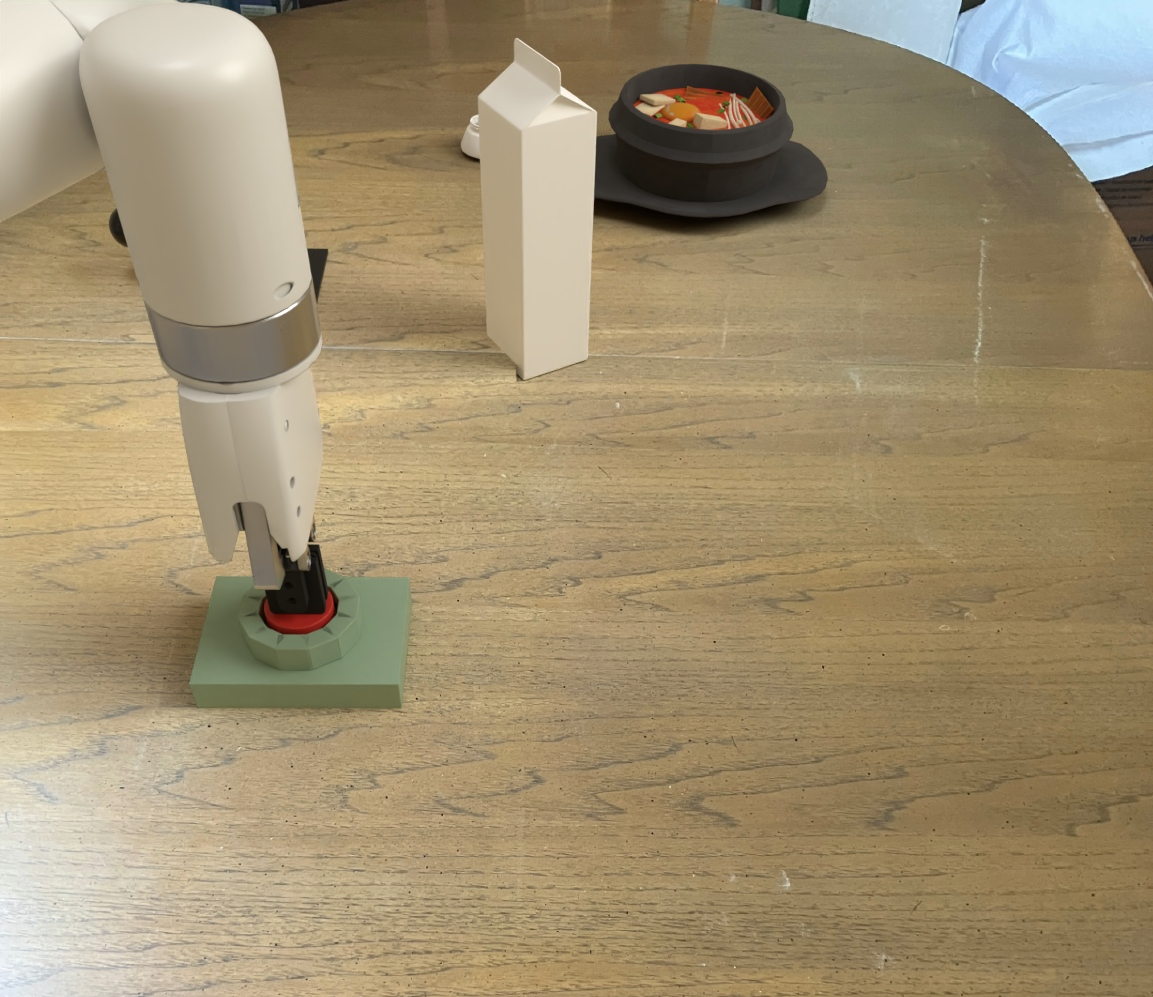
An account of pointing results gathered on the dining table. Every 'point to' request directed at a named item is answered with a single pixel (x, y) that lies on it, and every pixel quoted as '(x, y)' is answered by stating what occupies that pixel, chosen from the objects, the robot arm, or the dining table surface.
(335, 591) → the button block
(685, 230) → the dining table surface
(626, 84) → the casserole
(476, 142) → the lidless jar
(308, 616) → the button
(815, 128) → the dining table surface
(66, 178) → the robot arm
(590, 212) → the milk
